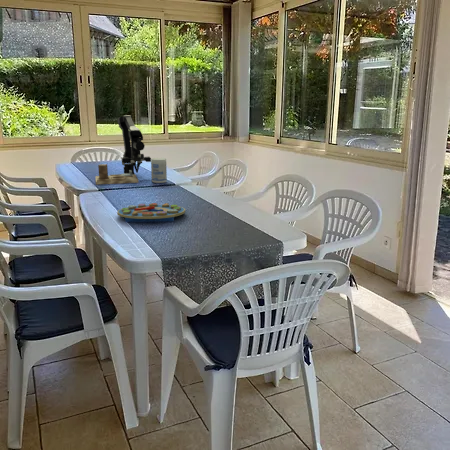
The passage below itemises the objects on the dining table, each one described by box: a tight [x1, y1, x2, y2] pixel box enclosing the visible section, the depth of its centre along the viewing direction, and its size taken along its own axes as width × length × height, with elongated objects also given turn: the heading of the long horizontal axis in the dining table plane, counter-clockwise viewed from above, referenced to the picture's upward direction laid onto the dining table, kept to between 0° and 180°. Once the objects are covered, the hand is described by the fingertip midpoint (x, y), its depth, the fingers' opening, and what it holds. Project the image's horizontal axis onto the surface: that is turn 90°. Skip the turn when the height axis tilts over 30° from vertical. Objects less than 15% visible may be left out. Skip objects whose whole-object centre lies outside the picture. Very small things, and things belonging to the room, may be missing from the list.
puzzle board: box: [95, 173, 139, 186], centre depth 285 cm, size 26×22×3 cm
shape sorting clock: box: [116, 202, 186, 223], centre depth 201 cm, size 31×30×6 cm
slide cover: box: [120, 170, 134, 176], centre depth 292 cm, size 7×7×3 cm
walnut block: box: [97, 163, 109, 179], centre depth 277 cm, size 4×4×10 cm
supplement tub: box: [150, 157, 168, 184], centre depth 279 cm, size 10×10×15 cm
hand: (137, 172), depth 294 cm, fingers closed
